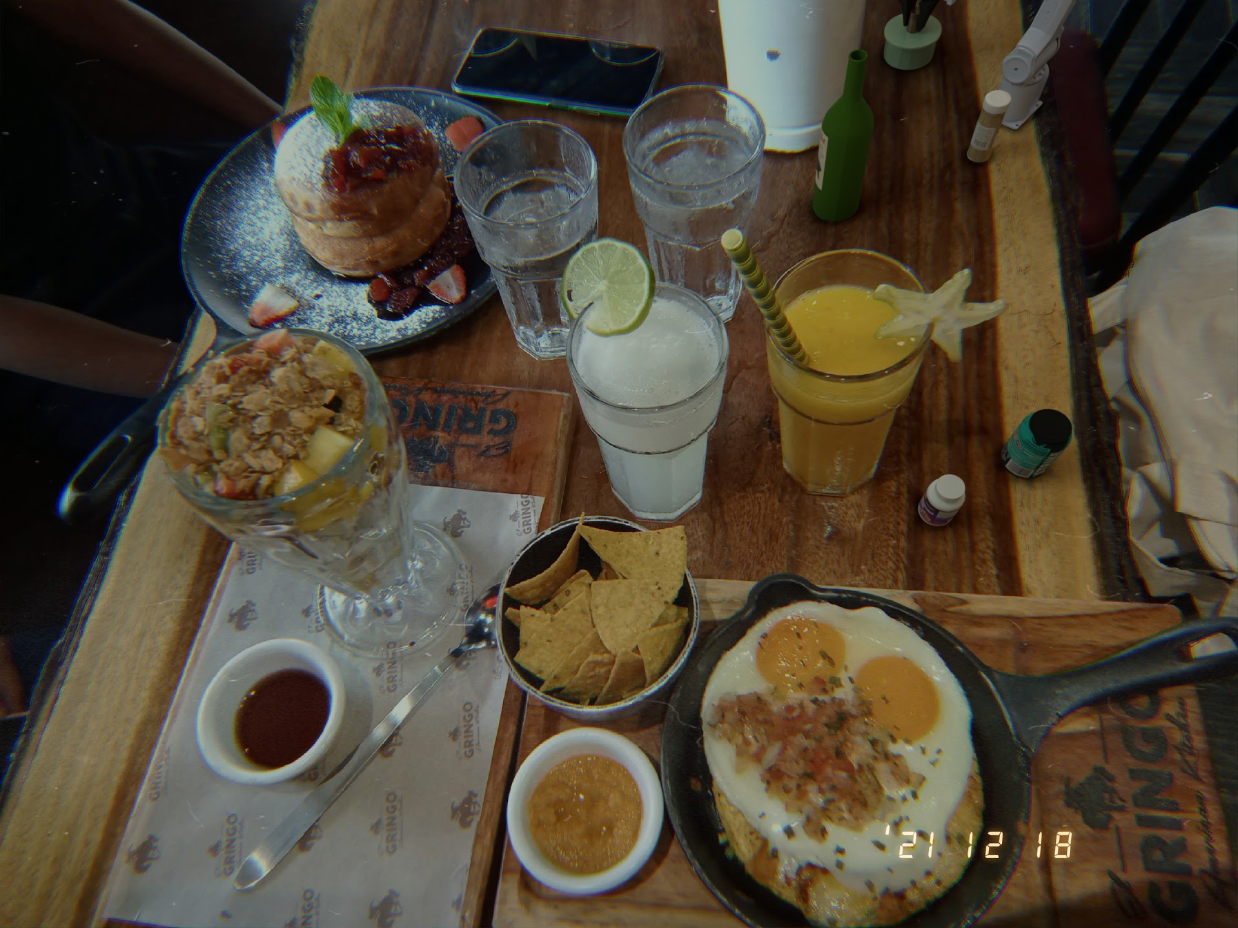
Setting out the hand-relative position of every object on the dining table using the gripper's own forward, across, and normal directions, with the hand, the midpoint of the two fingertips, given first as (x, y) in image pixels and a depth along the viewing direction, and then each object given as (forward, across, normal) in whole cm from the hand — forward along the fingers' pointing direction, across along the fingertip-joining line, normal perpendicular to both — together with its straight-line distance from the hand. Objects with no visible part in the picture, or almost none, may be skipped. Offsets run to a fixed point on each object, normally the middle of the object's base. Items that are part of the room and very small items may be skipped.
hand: (913, 26), depth 152 cm
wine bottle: (+10, +13, -41) cm, 44 cm away
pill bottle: (+10, +64, -83) cm, 106 cm away
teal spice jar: (+10, +70, -67) cm, 97 cm away
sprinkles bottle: (+10, +27, -14) cm, 32 cm away
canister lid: (+1, 0, 0) cm, 1 cm away
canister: (+10, -2, +4) cm, 11 cm away
